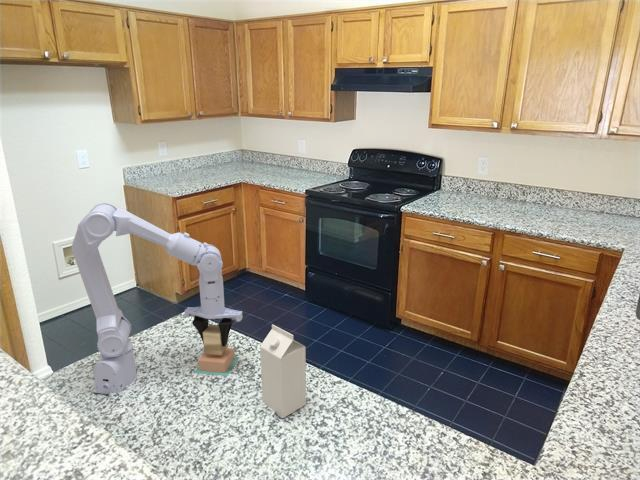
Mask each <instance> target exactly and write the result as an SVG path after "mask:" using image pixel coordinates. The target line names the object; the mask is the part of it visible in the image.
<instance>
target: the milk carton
mask: <svg viewBox="0 0 640 480" xmlns="http://www.w3.org/2000/svg"><path fill="white" fill-rule="evenodd" d="M259 349H260V374H261V395H262V403H263V404H265V405H266V406H268V407H269V408H271V410H273V411H275V413H274V414H275V415H277V416H278V417H279V418H281V419H284V418H286V417H288V416H289V415H291V414H292V413H294V412H296V411H298V410H300V409H301V408H303V407H304V406H306V405H307V374H306V372H307V371H306V368H307V367H306V362H307V361H306V358H307V357H306V346H305V345H303V344H302V343H300V342H298V341H296V340H295V339H294V334H292V333H290V332H288V331H286V330H284V329H282V328H281V327H278V326H277V325H274V324H271V330H270V331H269V332H268V334H266V337H265V338H264V340H263V342H261V344H260V347H259Z"/></svg>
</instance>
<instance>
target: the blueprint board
mask: <svg viewBox="0 0 640 480" xmlns="http://www.w3.org/2000/svg"><path fill="white" fill-rule="evenodd" d="M239 359H240V356H235V359H234V361H233V362H232V364H231V365H230V367H229V368H228V370H227V371H226V373H216V372H206V371H199V366H197V367H196V368H195V370H194V371H193V373H194V374H202V375H203V374H204V375H211V376H213V375H214V376H221V377H228V376H229V374H231V371H232V370H233V368H234V367H235V365H236V363H237V362H238V361H239Z"/></svg>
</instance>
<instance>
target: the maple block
mask: <svg viewBox="0 0 640 480" xmlns="http://www.w3.org/2000/svg"><path fill="white" fill-rule="evenodd" d="M203 341H204V344H203V351H204V352H203V353H205V354H212V355H222V354H223V352H224V351H225V350H226V348H229V347H228V346H229V345H228V343H227V344H226V346H222V341H221V332H220V328H219V326H218V324H213V323H212V324H209V325H208V327H207V328H206V329H205V331H204V332H203ZM203 341H202V342H203Z"/></svg>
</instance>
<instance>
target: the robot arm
mask: <svg viewBox="0 0 640 480" xmlns="http://www.w3.org/2000/svg"><path fill="white" fill-rule="evenodd" d="M114 232H115V237H120V236H125V235H135V236H136V237H139V238H142V239H144V240H147V241H149V242H150V243H151V242H152V243H153V244H157V245H159V246H161V247H164V248H165V250H166V254H167V255H168V256H171V257H174V258H176V259H177V260H180V261H182V262H184V263H186V264H189V265H191V266H196V267H197V270H198V271H199V278H198V284H199V296H200V297H199V298H200V306H195V307H193V306H191V307H189V306H188V307H186V309H184V317H185V318H190V317H192V318H193V320H192V326H194V328H195V329H196V331H197V333H198V334H199V336H200V338H201V341H202V344H203V345H204V341H203V332H204V331H205V329H206V328H207V327H208V326H209V325H210V324H209V323H210V320H214V319H215V320H216V319H218V320H221V321H220V322H219V323H218V324H217V325H218V326H219V328H220V332H221V341H222V346H226V344H227V343H228V342H229V335H230V331H231V328H232V325H233V323H234V322H237V323H238V322H241V321H242V319H243V311H242V310H235V309H232V308H228V307H225V295H224V294H225V293H224V292H225V289H224V278H223V277H224V276H223V275H222V273H223V270H222V269H223V266H224V265H223V264H224V262H223V259H222V254H221V251H220V250H219V249H218V248H217V247H216V246H215V245H214V244H209V243H208V242H205V241H204V242H203V243H202V242H201V241H198V240H196V239H194V238H192V237H190V234H189V233H187V231H186V232H183V233H182V232H180V231H179V232H176V233H175V232H174V233H170V232H167V231H165V230H164V229H162V228H160V227H158V226H156V225H154V224H153V223H151V222H148V221H146V220H145V219H143V218H140V217H139V216H138V215H135V214H134V213H131V212H129V211H128V210H126V209H124V208H120V207H116V206H115V205H113V204H111V203H109V202H101V203H97V204H95V206H94V207H93V208H92V209H90V210H89V212H88V213H87V214H86V215H85V216H84V217H83V218H82V220H81V221H79V223H78V225H77V229H76V232H75V235H74V238H73V241H72V243H71V251H72V254H73V257H74V260H75V263H76V266H77V268H78V271H79V274H80V277H81V279H82V282H83V286H84V288H85V290H86V291H85V292H86V294H87V296H88V300H89V302H90V305H91V307H92V310H93V314H94V316H95V319H96V322H95V324H96V333H97V339H98V340H97V346H96V347H97V351H98V352H99V353H100V356H99V359H98V360H97V362H96V363H95V364H94V365H93V370H92V373H93V381H94V386H95V388H94V389H93V391H92V392H93V393H95V394H103V395H111V394H120V393H121V392H123V390H124V389H125V388H126V387H127V386H128V385H130V384H131V383H134V381H136V379H137V367H136V360H135V359H136V358H135V353H134V346H133V343H132V341H131V339H130V338H129V336H130V333H131V330H132V324H131V322H130V321H129V320H128V319H127V318H126V317H125V316H124V314H123V311H122V310H121V309H120V308H119V307H118V303H117V301H116V298H115V294H114V292H113V289H112V286H111V284H110V280H109V277H108V274H107V271H106V268H105V266H104V262H103V260H102V256H101V254H100V251H99V247H100V245H101V244H102V243H103V242H104V241H105V240H106V239H107V238H109V237H110V236H111V235H112V234H113V233H114Z"/></svg>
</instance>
